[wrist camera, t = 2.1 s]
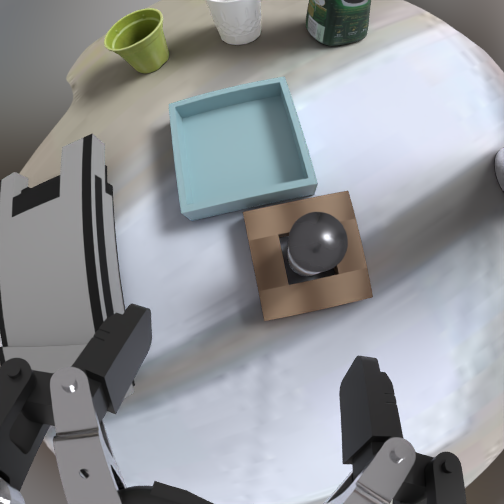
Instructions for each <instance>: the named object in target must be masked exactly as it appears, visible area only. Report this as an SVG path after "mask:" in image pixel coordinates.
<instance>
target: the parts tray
mask: <svg viewBox="0 0 504 504" xmlns="http://www.w3.org/2000/svg"><path fill="white" fill-rule="evenodd" d="M169 114H170V125H171V135H172V144H173V153H174V162H175V171H176V179H177V186H178V194H179V201H180V208H181V214H183V215H184V216H185V217H187V218H188V219H190V220H191V221H194V220H199V219H203V218H207V217H211V216H216V215H220V214H224V213H229V212H233V211H238V210H242V209H247V208H251V207H256V206H260V205H265V204H270V203H275V202H279V201H284V200H289V199H294V198H299V197H304V196H309V195H314V194H315V190H316V187H317V184H318V183H317V180H316V176H315V172H314V169H313V165H312V162H311V158H310V155H309V151H308V148H307V144H306V141H305V138H304V134H303V131H302V128H301V125H300V122H299V118H298V115H297V112H296V109H295V106H294V103H293V100H292V97H291V94H290V91H289V88H288V85H287V82H286V79H285V77H279V78H273V79H267V80H262V81H257V82H252V83H247V84H242V85H238V86H234V87H229V88H225V89H221V90H217V91H213V92H209V93H205V94H202V95H198V96H194V97H191V98H187V99H184V100H181V101H177V102H174V103H171V104H169Z"/></svg>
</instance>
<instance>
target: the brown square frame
mask: <svg viewBox="0 0 504 504" xmlns="http://www.w3.org/2000/svg"><path fill="white" fill-rule="evenodd" d="M311 212H324V213H327V214H330V215H332V216H334V217H335V218H336V219H338V220H339V221H340V223H341V224H342V225H343V227H344V229H345V231H346V234H347V238H348V247H347V251H346V254H345V256H344V258H343V259H342V261H341V262H340V263H339V264H338V265H337V266H335V267H334V272H335V275H333V276H329V277H324V278H320V279H315V280H310V281H306V282H301V283H296V284H291V285H289V284H288V279H287V274H286V269H285V265H284V260H283V255H282V250H281V245H280V241H279V238H282V237H286V236H289V233H290V230H291V228H292V226H293V224H294V223H295V222H296V221H297V220H298V219H299V218H300V217H301V216H303V215H305V214H307V213H311ZM243 215H244V221H245V226H246V231H247V236H248V241H249V246H250V251H251V256H252V261H253V266H254V271H255V276H256V281H257V286H258V291H259V296H260V301H261V306H262V311H263V317H264V321H268V320H273V319H278V318H283V317H288V316H293V315H298V314H302V313H307V312H312V311H316V310H321V309H325V308H330V307H334V306H338V305H343V304H347V303H351V302H355V301H359V300H363V299H367V298H371V297H373V295H372V289H371V284H370V279H369V274H368V269H367V265H366V260H365V255H364V251H363V247H362V242H361V238H360V234H359V230H358V226H357V222H356V218H355V214H354V210H353V206H352V203H351V199H350V195H349V192H348V191H344V192H339V193H333V194H328V195H323V196H318V197H313V198H307V199H302V200H297V201H293V202H288V203H283V204H278V205H273V206H268V207H264V208H259V209H254V210H250V211H245V212H243Z"/></svg>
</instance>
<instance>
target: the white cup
mask: <svg viewBox="0 0 504 504" xmlns="http://www.w3.org/2000/svg"><path fill="white" fill-rule="evenodd" d="M206 3H207V6H208V8H209V11H210V14H211V16H212V19H213V21H214V23H215V26H216V28H217V29H218V32H219V35H220V37H221V39H222V40H223V41H224V42H226V43H228V44H233V45H241V44H247V43H249V42H252V41H254V40H255V39H256V38H258V37H259V36H260V33H261V0H206Z"/></svg>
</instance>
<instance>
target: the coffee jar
mask: <svg viewBox="0 0 504 504" xmlns="http://www.w3.org/2000/svg"><path fill="white" fill-rule="evenodd" d="M370 5H371V0H309V4H308V9H307V16H306V28H307V30H308V31H309V33H310V34H311V36H312V37H313V38H314V39H316V40H317V41H318V42H320V43H322V44H325V45H328V46H336V45H344V44H349V43H353V42H357V41H360V40H362V39H364V38H365V37H366V35H367V30H368V24H369V13H370Z"/></svg>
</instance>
